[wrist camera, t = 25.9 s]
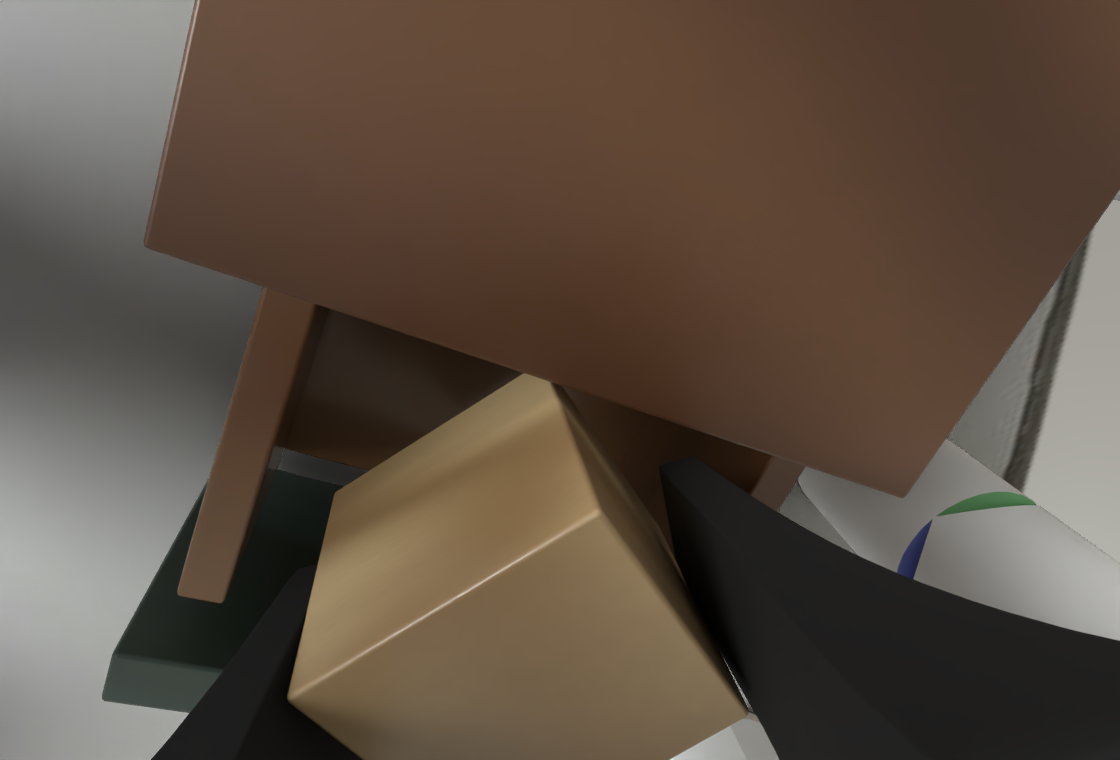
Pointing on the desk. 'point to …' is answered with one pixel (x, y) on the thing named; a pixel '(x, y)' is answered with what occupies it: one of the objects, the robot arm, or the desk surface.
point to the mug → (734, 743)
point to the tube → (976, 542)
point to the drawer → (304, 503)
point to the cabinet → (664, 193)
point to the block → (506, 602)
